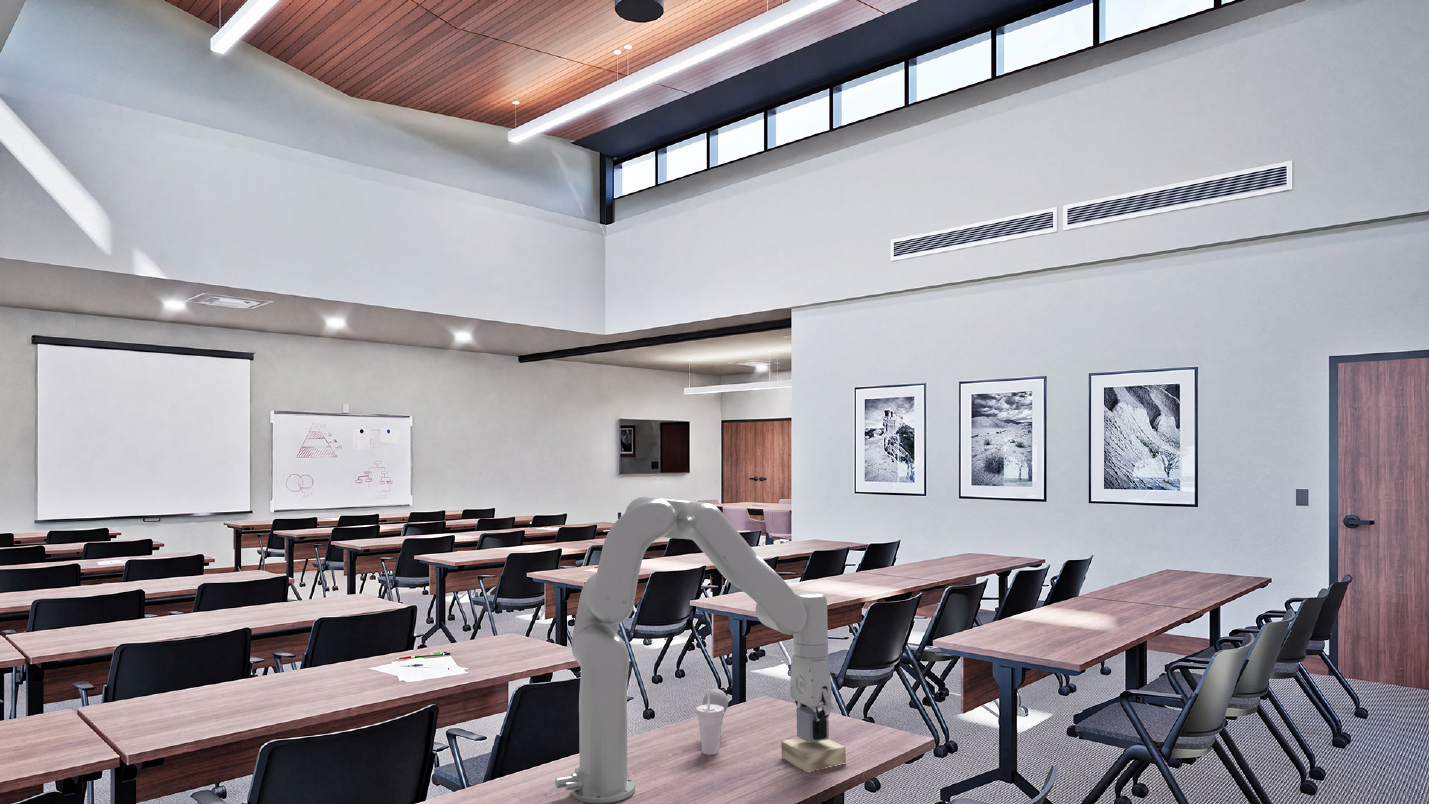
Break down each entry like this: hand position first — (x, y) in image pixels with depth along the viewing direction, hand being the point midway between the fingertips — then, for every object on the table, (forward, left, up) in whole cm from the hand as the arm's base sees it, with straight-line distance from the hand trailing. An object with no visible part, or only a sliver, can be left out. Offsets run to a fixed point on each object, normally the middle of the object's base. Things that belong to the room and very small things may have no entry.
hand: (812, 734), depth 184 cm
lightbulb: (-11, +25, -6) cm, 28 cm away
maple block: (0, 0, -6) cm, 6 cm away
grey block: (0, 0, -1) cm, 1 cm away
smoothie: (-17, +16, -6) cm, 24 cm away
